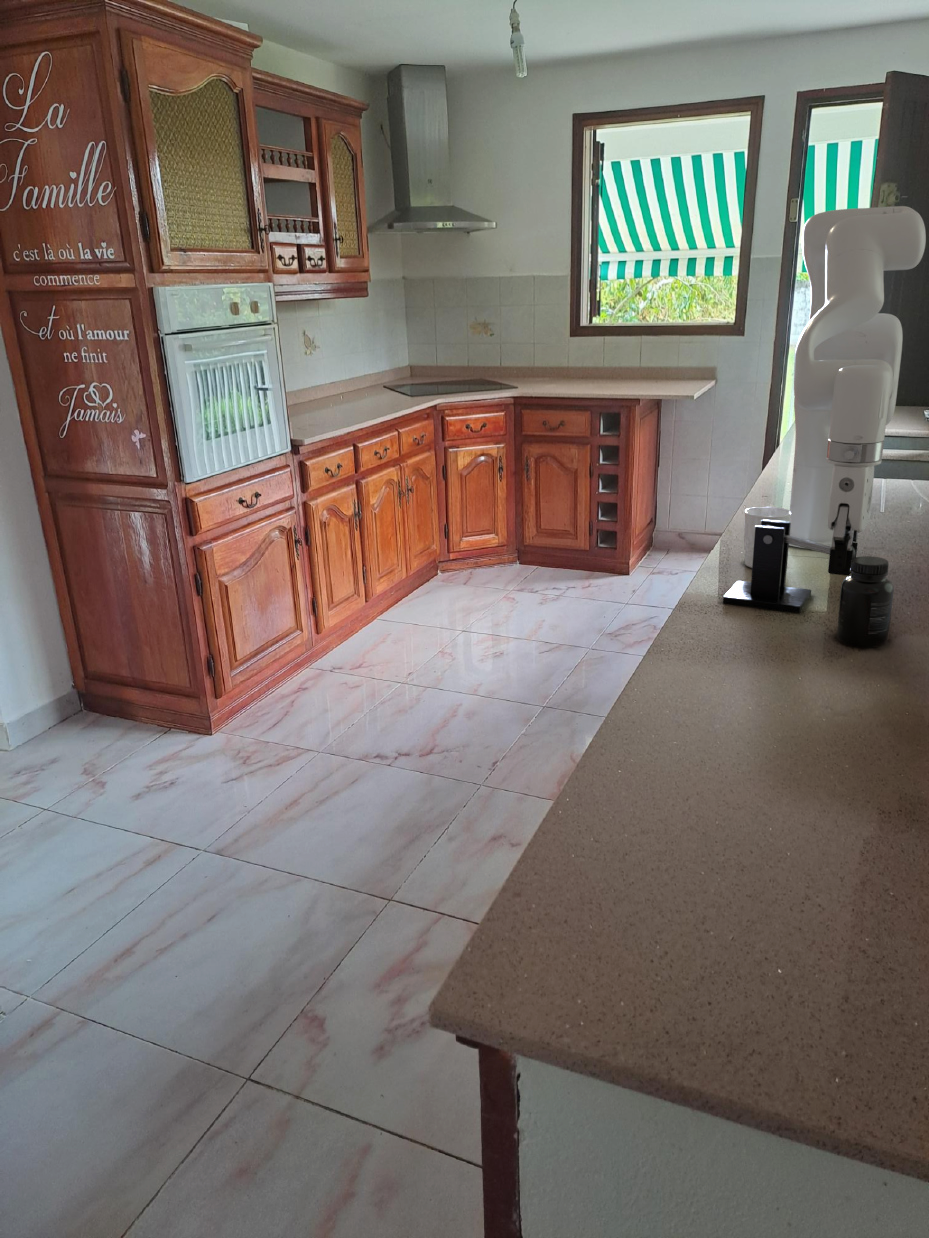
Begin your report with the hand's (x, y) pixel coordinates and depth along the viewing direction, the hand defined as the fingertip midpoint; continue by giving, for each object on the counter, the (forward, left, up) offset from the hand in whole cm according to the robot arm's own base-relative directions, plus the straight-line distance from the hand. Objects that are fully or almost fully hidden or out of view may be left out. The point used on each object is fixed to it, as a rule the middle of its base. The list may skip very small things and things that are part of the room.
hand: (841, 569), depth 137 cm
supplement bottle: (+12, +5, -7) cm, 15 cm away
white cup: (-19, -16, -7) cm, 26 cm away
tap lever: (0, -6, +2) cm, 6 cm away
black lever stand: (0, -11, -7) cm, 13 cm away
